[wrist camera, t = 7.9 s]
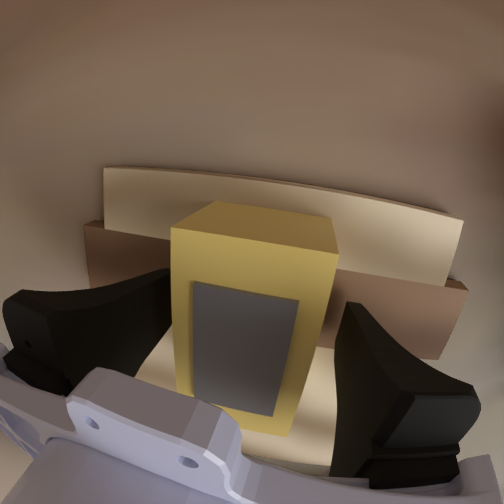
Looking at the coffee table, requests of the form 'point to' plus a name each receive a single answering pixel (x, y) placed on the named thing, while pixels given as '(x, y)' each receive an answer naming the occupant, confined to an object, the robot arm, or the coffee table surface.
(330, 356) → the subfloor
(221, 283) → the stud finder
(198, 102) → the coffee table surface
